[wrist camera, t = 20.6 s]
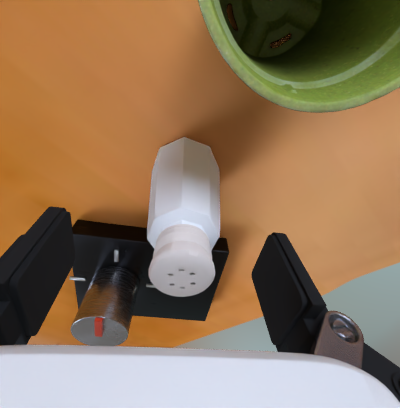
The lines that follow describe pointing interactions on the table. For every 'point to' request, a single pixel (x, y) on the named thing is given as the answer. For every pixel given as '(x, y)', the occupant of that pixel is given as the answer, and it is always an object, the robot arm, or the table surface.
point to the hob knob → (107, 308)
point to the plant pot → (310, 49)
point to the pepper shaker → (183, 217)
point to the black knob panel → (137, 268)
